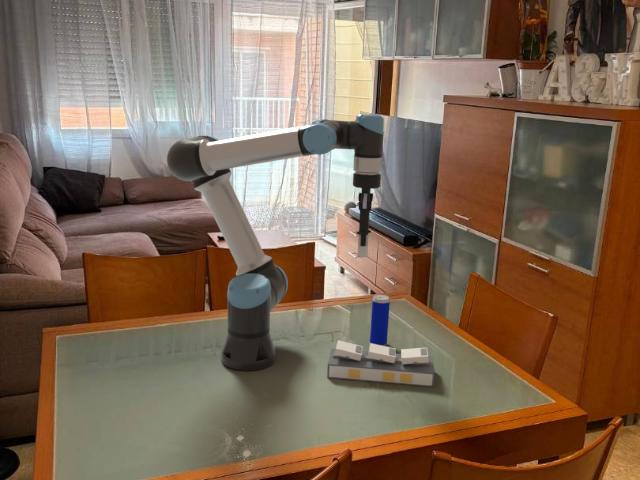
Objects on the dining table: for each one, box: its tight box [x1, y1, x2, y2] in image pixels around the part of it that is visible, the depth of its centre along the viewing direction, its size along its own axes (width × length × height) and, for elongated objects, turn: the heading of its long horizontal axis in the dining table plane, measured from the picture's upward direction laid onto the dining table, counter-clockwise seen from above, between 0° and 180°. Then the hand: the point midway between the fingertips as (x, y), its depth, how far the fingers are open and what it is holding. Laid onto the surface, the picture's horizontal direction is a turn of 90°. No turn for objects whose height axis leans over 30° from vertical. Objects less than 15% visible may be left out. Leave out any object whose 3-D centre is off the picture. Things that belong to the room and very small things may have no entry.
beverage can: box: [369, 294, 391, 346], centre depth 185 cm, size 5×5×15 cm
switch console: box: [326, 348, 436, 388], centre depth 167 cm, size 28×10×5 cm, turn 83°
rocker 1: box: [335, 339, 364, 361], centre depth 167 cm, size 7×6×2 cm
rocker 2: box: [368, 342, 397, 363], centre depth 166 cm, size 7×6×2 cm
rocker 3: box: [400, 347, 429, 365], centre depth 165 cm, size 7×6×2 cm
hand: (362, 256), depth 172 cm, fingers closed
